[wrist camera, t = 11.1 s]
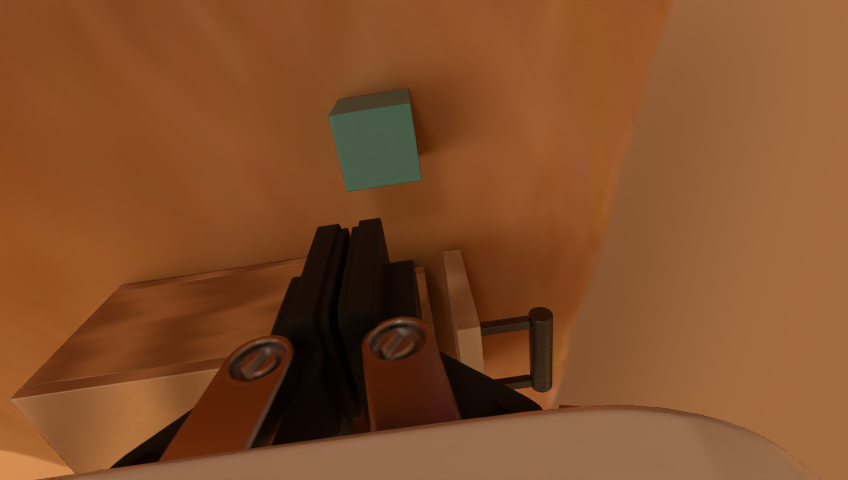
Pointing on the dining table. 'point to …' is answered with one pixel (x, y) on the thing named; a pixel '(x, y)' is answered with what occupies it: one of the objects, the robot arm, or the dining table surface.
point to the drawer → (483, 331)
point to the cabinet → (147, 359)
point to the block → (376, 140)
